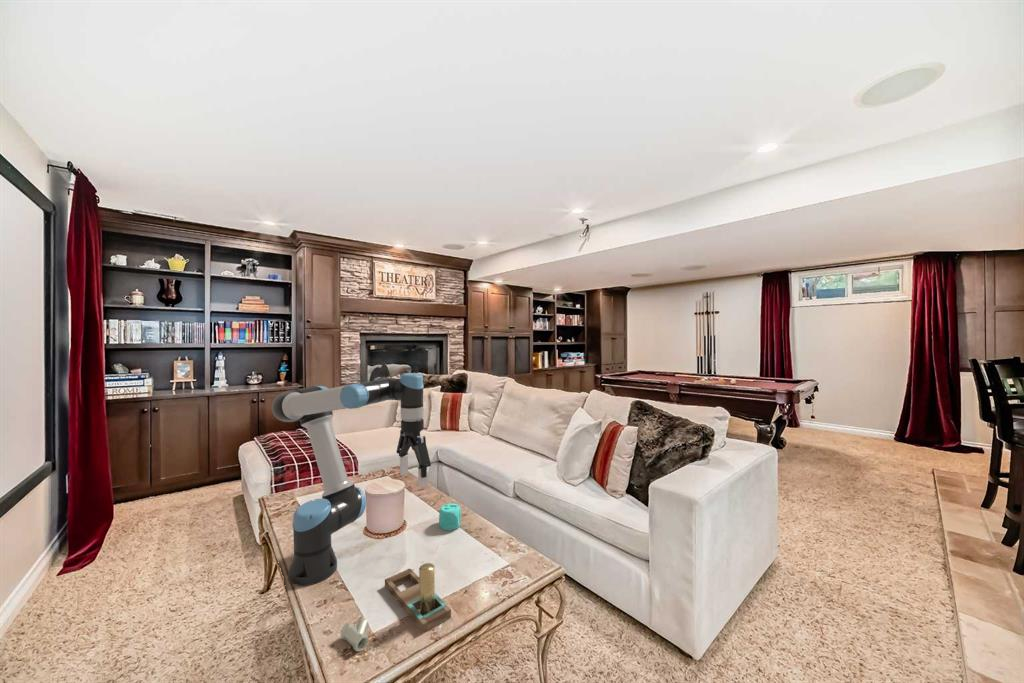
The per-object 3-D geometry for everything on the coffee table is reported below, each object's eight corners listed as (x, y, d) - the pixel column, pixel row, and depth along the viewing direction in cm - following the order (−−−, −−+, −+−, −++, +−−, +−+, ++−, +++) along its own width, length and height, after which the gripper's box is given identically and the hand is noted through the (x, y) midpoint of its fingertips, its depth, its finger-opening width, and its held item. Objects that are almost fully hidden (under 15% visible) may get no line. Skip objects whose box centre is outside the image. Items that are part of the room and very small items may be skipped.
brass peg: (417, 613, 118) (416, 567, 118) (430, 606, 121) (429, 561, 121) (424, 621, 115) (423, 574, 115) (437, 614, 118) (437, 568, 117)
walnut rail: (384, 586, 130) (384, 578, 130) (410, 575, 136) (410, 567, 136) (423, 633, 111) (423, 623, 111) (450, 617, 117) (450, 608, 116)
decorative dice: (458, 530, 166) (458, 512, 165) (439, 530, 166) (438, 511, 166) (460, 521, 174) (460, 503, 173) (442, 521, 174) (442, 503, 174)
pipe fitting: (362, 627, 114) (340, 640, 108) (363, 613, 114) (340, 625, 109) (378, 640, 109) (355, 655, 104) (379, 626, 109) (356, 640, 104)
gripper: (441, 423, 128) (441, 488, 129) (405, 411, 147) (406, 467, 148) (419, 427, 123) (420, 495, 124) (386, 414, 142) (387, 472, 143)
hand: (413, 480), depth 136 cm, fingers open, 13 cm apart
